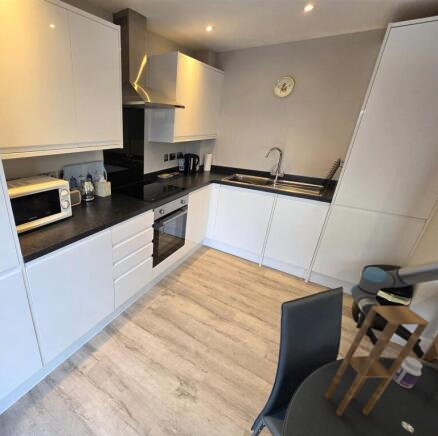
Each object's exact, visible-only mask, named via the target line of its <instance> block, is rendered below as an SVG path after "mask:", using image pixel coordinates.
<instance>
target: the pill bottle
mask: <svg viewBox="0 0 438 436" xmlns="http://www.w3.org/2000/svg"><path fill="white" fill-rule="evenodd" d="M422 368H423V364H422V363H421V362H420V361H419V360H418V359H416V358H414V357H411V356H407V357H406V358H405V360H404V361H403V363H402V364H401V366H400V367H399V369H398V370H397V372H396V373H395V375H394V376H393V378H392V380H393V381H394V382H395V383H396V384H398V385H399V386H401V387H403V388H406V389H412V388H413V387H414V385H415V384H416V383H417V381H418V380H419V378H420V377H421V375H422Z"/></svg>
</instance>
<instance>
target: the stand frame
mask: <svg viewBox="0 0 438 436" xmlns="http://www.w3.org/2000/svg"><path fill="white" fill-rule="evenodd" d="M376 313H377V312H376V311H375V310H374V309H373V308H371V309H370V311H369V313H368V315H367V317H366V318H365V319H364V320H363V323H362V326H361V328H360V329H358V331H357V334H356V336H355V337H354V339H353V340H352V343H351V345H350V347H349V348H348V350H347V352H346V354H345V356H344V358H343V360H342V362H341V364H340V366H339V367H338V369H337V372H336V373H335V375H334V376H333V379H332V380H331V382H330V385H329V386H328V388H327V390H326V392H325V393H324V399H326V400H330V398H331V397H332V395H333V393H334V392H335V389H336V387H337V386H338V384H339V382H340V381H341V379H342V376H343V375H344V373H345V371H346V370H347V367H348V365H350V366H351V367H352V368H353V369H354V371H356V373H357V375H356V377H355V378H354V380H353V381H352V383H351V385H350V387H349V388H348V390H347V392H346V394H345V395H344V397H343V399H342V401H341V402H340V403H339V406H338V407H337V409H336V411H335V414H336V416H337V417H342V415H343V413H344V411H345V410H346V408H347V406H348V405H349V403H350V402H351V400H354V399H355V398H356V396H357V395H358V393H359V392H360V390H361V389H362V388H363V385H364V383H365V382H366V381H367V379H371V378H372V379H373V378H376V379H377V378H381V379H382V380H381V382H380V383H379V385H378V386H377V388H376V389H375V390H374V393H372V395H371V397H370V398H369V400H368V401H367V403H366V405H365V406H364V407H363V409H362V410H361V413H362V414H363V416H369V413H370V412H371V411H372V409H373V408H374V406H375V405H376V403H377V401H378V400H379V399H380V397H381V396H382V395H383V392H385V390H386V388H387V387H388V385H389V383H390V382H391V381H392V380H393V376H394V375H395V373H396V372H397V370H398V369H399V367H400V366H401V364H402V363H403V361H404V360H405V359H406V357H408V355H409V354H410V352H411V351H412V348H413V346H414V345H415V343H416V342H417V340H418V339H419V338H420V337H421V336H422V335H423V333H424V331H425V330H426V329H427V328H428V326H429V324H417V326H416V328H415V329H414V331H413V332H412V333H413V334H412V335H411V337H410V338H409V340H408V341H406V343H405V344H404V346H403V348H402V349H401V350H400V352H399V353H398V355H397V357H396V358H395V360H394V362H393V363H392V364H391V366H390V368H389V369H388V370H387V368H386V367H385V366H384V365H383V364H381V362H379V359H380V357H381V356H382V354H383V353H384V351H385V349H386V348H387V346H388V344H389V342H390V341H391V340H392V338H393V336H394V334H395V331H396V329H397V328H398V326H399V324H391V323H390V322H388V323H387V325H386V327H385V328H383V330H382V332H381V333H380V335H379V337H378V338H377V339H378V340H377V342H376V344H375V345H373V347H372V349H371V351H370V353H369V354H368V356H354V355H355V353H356V351H357V349H358V348H359V346H360V344H361V342H362V340H363V338H364V336H366V334H365V333H366V331H367V329H368V327H369V325H370V324H371V322H372V320H373V318H374V316H375V314H376Z"/></svg>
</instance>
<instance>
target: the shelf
mask: <svg viewBox="0 0 438 436" xmlns="http://www.w3.org/2000/svg"><path fill="white" fill-rule="evenodd" d="M371 308H373V309H374V310H375V311H376V312H378V313H379V314H380V315H381V316H382V317H384V318H385V319H386V320H387V321H389V322H390V323H391V324H401V325H418V324H428V325H429V324H430V322H429V321H428V320H426V319H425V318H423V317H422V316H420V315H419V314H417V313H416V312H415V311H413V310H412V309H410V308H409V307H407V306H406V305H381V306H372V307H371Z"/></svg>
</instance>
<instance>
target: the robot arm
mask: <svg viewBox="0 0 438 436" xmlns="http://www.w3.org/2000/svg"><path fill="white" fill-rule="evenodd" d="M434 281H438V259H436V260H431V261H427V262H423V263H419V264H414V265H410V266H406V267H401V268H397V269H393V270H384V269H382V268H380V267H376V266H368V267H366V268H365V270H364V272H363V273H362V275H361V278H360V279H359V282H358V284H355V285H354V286H351V288H350V294H351V297H352V298H353V300H354V301H355V303H356V305H357V306H358V308H359V310H360V311H359V313H358V315H357V317H358V321H357V323H356V326H355V328H356V329H358V330H360V328H361V326H362V324H363V322H364V320H365V318H366V317H367V315H368V313H369V311H370V309H371V307H372V306H382V305H381V304H380V302H379V301H378V299H376V298H377V296H378V294H379V292H380V290H381V289H389V288H404V287H408V286H411V285H417V284H422V283H429V282H434ZM388 322H389V321H387V320H386V319H385V318H384V317H382V316H381V315H380V314H379V313H378V312H377V313H376V314H375V316H374V318H373V320H372V322H371V324H370V325H369V327H368V329H367V331H366V333H365V336H366V337H368V339H369V340H370V342H371V344H372V345H373V346H375V344H376V342H377V340H378V339H379V338H378V337H377V335H376V334H375V332H374V331H373V329H372V328H373V326H376V327H378V328H381V329H384V328H385V327H386V325H387V323H388ZM394 334H395V335H396V336H398V337H400V338H401V339H402V340H404V342H405V341H406V342H407V341H408V340H409V338H410V337H411V335H412V334H413V332H411V330H409V329H408V328H407V327H406V326H404V325H403V324H399V326H398V328H397V329H396V331H395V333H394ZM421 342H422V338H420V337H419V339H418V340H417V342H416V343H415V345H414V346H413V348H412V349H411V351H413V353H414V354H415V355H416V357H417V358H418V359H422V358H423V356H424V355H425V352H424V350H422V347H421V345H420V343H421Z"/></svg>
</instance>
